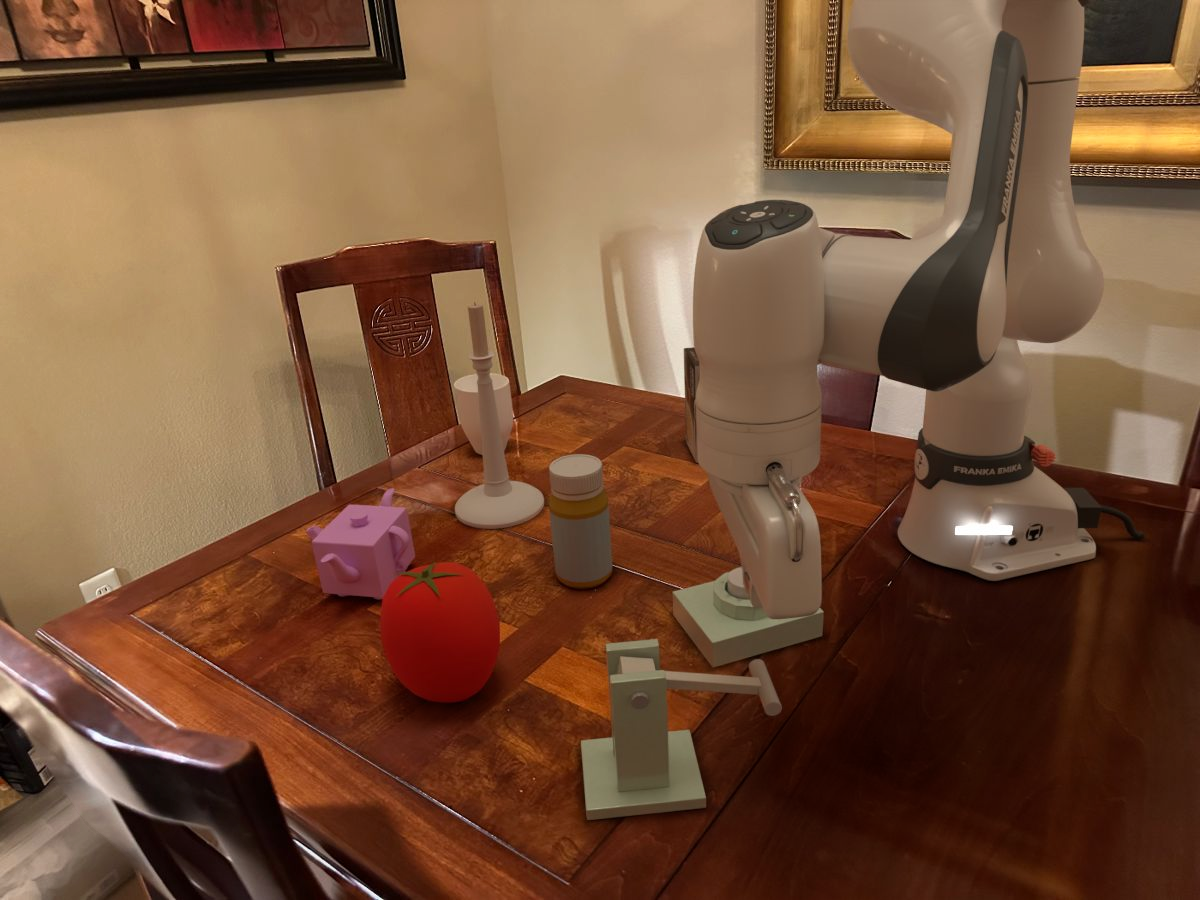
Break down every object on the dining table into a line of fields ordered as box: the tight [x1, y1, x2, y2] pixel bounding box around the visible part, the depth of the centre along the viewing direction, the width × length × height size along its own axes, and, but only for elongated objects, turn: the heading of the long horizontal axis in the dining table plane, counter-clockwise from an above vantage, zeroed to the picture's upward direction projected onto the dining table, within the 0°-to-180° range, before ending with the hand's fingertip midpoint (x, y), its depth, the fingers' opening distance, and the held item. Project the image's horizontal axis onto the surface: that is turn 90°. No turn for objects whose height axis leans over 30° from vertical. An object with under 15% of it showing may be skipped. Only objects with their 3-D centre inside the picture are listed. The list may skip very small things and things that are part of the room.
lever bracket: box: [580, 638, 707, 821], centre depth 71 cm, size 10×8×13 cm
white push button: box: [727, 566, 750, 600], centre depth 90 cm, size 4×4×2 cm
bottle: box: [548, 453, 613, 590], centre depth 100 cm, size 7×7×15 cm
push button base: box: [672, 571, 825, 668], centre depth 91 cm, size 13×10×5 cm
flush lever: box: [617, 656, 783, 717], centre depth 70 cm, size 13×6×2 cm, turn 94°
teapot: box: [305, 487, 416, 600], centre depth 103 cm, size 18×13×10 cm
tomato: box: [379, 561, 501, 704], centre depth 83 cm, size 13×11×14 cm
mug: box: [453, 372, 514, 456], centre depth 138 cm, size 12×9×12 cm
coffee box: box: [683, 346, 700, 464], centre depth 131 cm, size 9×6×16 cm
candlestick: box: [454, 301, 545, 530], centre depth 115 cm, size 13×13×30 cm
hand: (758, 596), depth 67 cm, fingers closed
